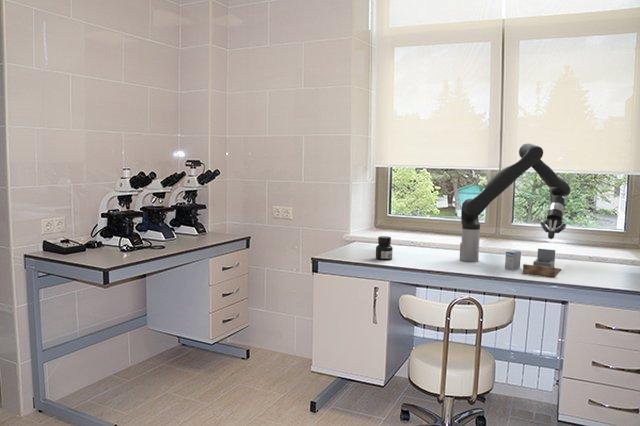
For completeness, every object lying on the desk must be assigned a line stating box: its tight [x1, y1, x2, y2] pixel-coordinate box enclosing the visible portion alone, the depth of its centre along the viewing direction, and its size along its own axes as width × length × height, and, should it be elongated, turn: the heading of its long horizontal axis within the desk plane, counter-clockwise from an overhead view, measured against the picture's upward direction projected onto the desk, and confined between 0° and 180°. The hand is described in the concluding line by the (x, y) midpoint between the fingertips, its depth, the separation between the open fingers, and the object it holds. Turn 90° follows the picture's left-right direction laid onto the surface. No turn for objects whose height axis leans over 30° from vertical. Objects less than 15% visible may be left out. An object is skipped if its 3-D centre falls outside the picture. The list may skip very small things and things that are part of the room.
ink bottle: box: [375, 235, 394, 261], centre depth 283 cm, size 10×9×12 cm
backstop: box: [522, 263, 562, 279], centre depth 258 cm, size 14×23×4 cm, turn 148°
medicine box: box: [504, 249, 522, 271], centre depth 265 cm, size 8×4×9 cm, turn 135°
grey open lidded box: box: [532, 248, 556, 268], centre depth 261 cm, size 8×12×9 cm, turn 148°
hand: (550, 238), depth 274 cm, fingers closed
